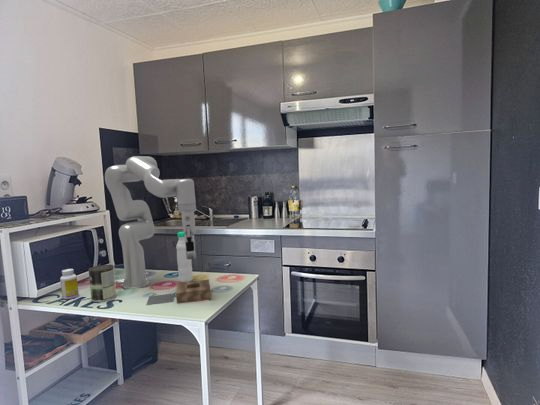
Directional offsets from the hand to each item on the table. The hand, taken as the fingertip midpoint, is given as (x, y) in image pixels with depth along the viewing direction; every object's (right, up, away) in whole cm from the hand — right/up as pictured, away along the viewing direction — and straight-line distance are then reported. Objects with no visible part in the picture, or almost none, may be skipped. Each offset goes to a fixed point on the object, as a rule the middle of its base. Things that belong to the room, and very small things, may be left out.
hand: (190, 249), depth 152 cm
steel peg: (0, -4, 0) cm, 4 cm away
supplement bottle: (-58, -24, +11) cm, 64 cm away
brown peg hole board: (+1, -21, +2) cm, 21 cm away
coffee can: (-41, -23, +7) cm, 47 cm away
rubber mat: (-13, -22, 0) cm, 25 cm away
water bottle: (-8, -20, +27) cm, 34 cm away
